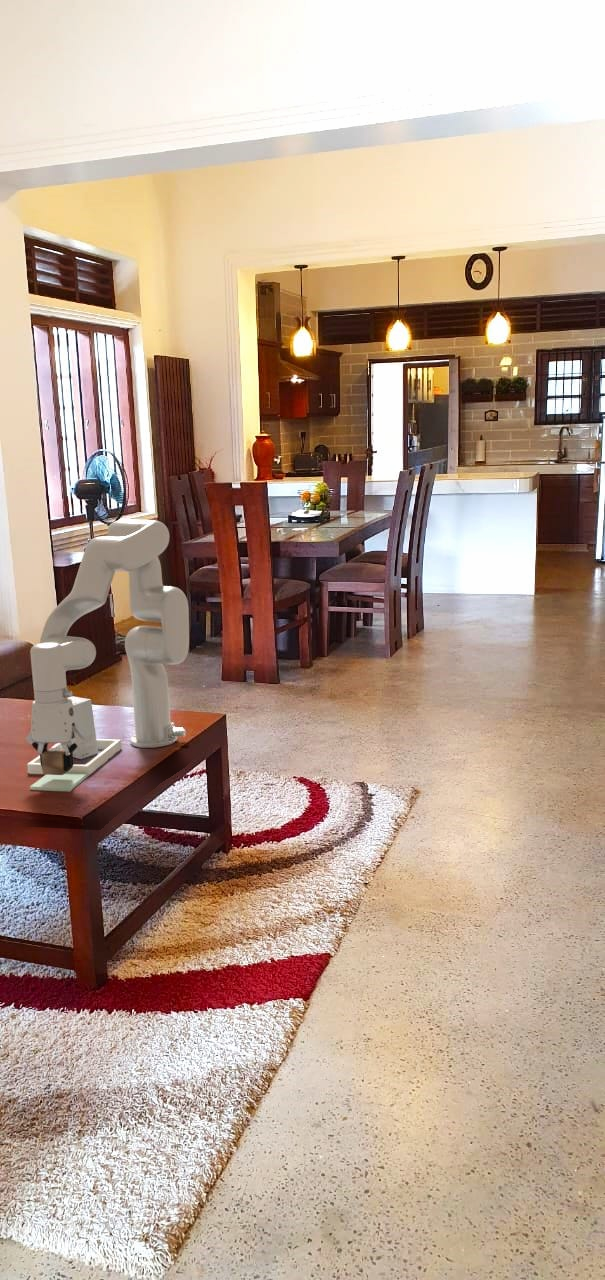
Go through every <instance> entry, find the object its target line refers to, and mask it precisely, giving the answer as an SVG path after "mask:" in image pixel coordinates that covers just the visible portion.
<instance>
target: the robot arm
mask: <svg viewBox="0 0 605 1280" xmlns="http://www.w3.org/2000/svg"><path fill="white" fill-rule="evenodd" d="M106 533H107V536H106V535H105V536H104V535H103V536H97V537H93V538H91V539H90V540H89V541H88V543H87V544H86V547H85V549H84V552H83V554H82V559H81V561H80V564H79V566H78V567H79V568H78V571H77V575H76V577H75V580H74V583H73V587H72V589H71V591H70V593H69V594H68V595H67V596H66V597H64V599H63V600H62V601H60V603H59V604H58V605H57V606H56V607H55V608H54V609H53V610H52V612H51V613H50V614H49V615H48V617H47V619H46V621H45V623H44V627H43V628H42V633H41V635H40V639H39V642H38V643H37V644H34V645H32V646H31V648H30V663H31V674H32V683H33V684H32V685H33V694H34V695H33V696H34V700H33V701H32V703H31V704H32V705H31V715H30V718H31V719H30V725H31V726H30V727H31V729H30V731H29V733H28V734H27V735H26V737H25V739H24V740H25V741H26V742H27V743H28V744H30V745H31V747H33V749H35V750H36V752H37V754H38V755H39V756H40V762H41V766H42V757H41V754H42V753H44V752H45V751H47V750H48V747H49V746H48V745H49V744H57V743H61V744H62V747H63V749H64V752H65V755H64V756H63V759H64V770H65V771H69V770H70V769H71V768H72V767H73V764H74V757H73V752H74V750H75V749H76V748H77V747H78V746H79V745H80V744H81V743H83V742H84V741H85V739H84V738H83V736H82V735H81V734H80V733H79V732H78V726H77V720H76V714H75V710H74V706H73V703H72V700H71V699H68V698H69V697H72V696H73V691H72V690H69V689H68V686H67V675H66V672H67V671H73V670H82V669H85V668H87V667H89V666H91V664H92V663H94V661H95V659H96V655H97V650H96V646H95V645H94V643H93V642H92V641H91V640H89V639H87V638H84V637H79V636H70V635H67V634H68V632H69V630H70V628H71V627H72V625H73V624H74V623H75V622H76V621H77V620H78V619H80V618H81V617H83V616H84V615H86V614H88V613H91V612H93V611H95V610H97V609H99V608H101V607H102V606H103V605H105V604H106V603H107V598H108V595H109V592H110V589H111V586H112V583H113V580H114V577H115V572H125V573H126V572H128V580H129V581H128V582H129V583H128V585H129V586H128V587H129V608H130V613H131V615H132V617H133V618H134V619H136V620H138V621H143V622H153V623H161V626H152V625H138V626H134V627H133V628H131V629H130V630H129V631H128V632H127V634H126V635H125V640H124V649H125V653H126V657H127V660H128V663H129V664H128V665H129V669H130V676H131V689H132V705H133V715H134V727H135V728H134V729H135V734H134V735H132V736H131V737H130V739H129V740H130V744H131V745H132V746H134V747H137V748H141V749H142V748H143V749H144V748H145V749H148V748H149V749H151V748H153V749H154V748H161V747H165V746H169V745H172V744H174V743H175V741H176V742H177V741H178V737H179V738H180V737H181V738H182V737H183V738H184V737H186V735H187V734H186V729H185V727H176V726H175V722H172V721H171V710H170V709H171V708H170V707H171V706H170V696H169V695H170V692H169V679H168V673H167V671H166V668H165V666H164V665H173V666H174V665H179V664H181V663H183V662H184V661H185V660H186V658H187V656H188V654H189V647H190V620H189V619H190V618H189V617H190V614H189V611H190V609H189V608H190V607H189V603H188V599H187V596H186V594H185V593H184V591H183V590H182V589H180V588H179V587H176V586H172V585H169V586H168V585H164V584H163V578H162V577H163V574H162V566H161V565H162V564H161V562H160V559H159V557H158V556H160V555H161V554H163V552H164V551H165V550H166V549H167V548H168V546H169V543H170V532H169V529H168V527H167V526H166V524H165V523H164V522H162V521H159V520H154V519H118V520H115V521H113V522H112V523H110V524H109V525H108V527H107V532H106ZM74 738H75V739H76V741H75V742H74V743H73V744H72V741H71V739H74ZM42 770H43V767H42Z"/></svg>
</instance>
